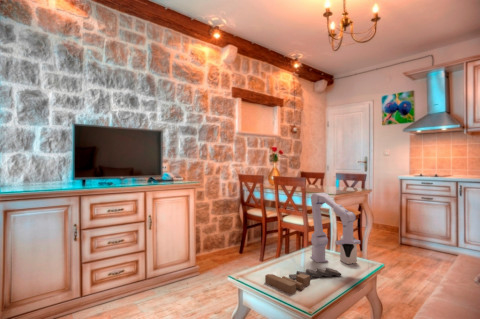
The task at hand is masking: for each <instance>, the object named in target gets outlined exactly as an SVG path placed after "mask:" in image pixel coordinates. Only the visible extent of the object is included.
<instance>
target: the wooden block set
mask: <svg viewBox="0 0 480 319" xmlns="http://www.w3.org/2000/svg"><path fill="white" fill-rule="evenodd" d="M264 277H265V278H264V279H265V280H264V281H265V282H266V284H268V285H270V286H272V287H274V288H276V289H277V290H279V291H282V292H284V293H287V294H289V295H293V294H295V293H297V290H300V291H302V290H304V288H305V287H308V286H309V285H311V279H310V276H309V275H304V274H299V275H297V276H296V280H292V279H291V278H290V277H287V276H284V275H283V276H278V275H276V274H273V273H268V274H266V275H265V276H264ZM265 282H264V283H265Z"/></svg>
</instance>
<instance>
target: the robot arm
mask: <svg viewBox="0 0 480 319" xmlns="http://www.w3.org/2000/svg"><path fill="white" fill-rule="evenodd" d="M310 200H311V201H310V202H311V211H312V220H313V228H314V229H313V230H314V232H313V233H311V241H310V242H311V245H312V246H311V256H310V259H312V260H313V261H314V262H316V263H326V262H328V261H329V260H327V259H326V247H327V245H328V244H329V238H328V237H327V233H326V232H325V231H324V229H323V228H324V227H323V220H322V219H323V218H322V211H321V207H322V206H323V205H324V204H326V205H328V206H329V207H330V208H332V210H333V213H335V214H336V216H338V217H340V220H341V225H342V235H343V240H339V239H338V240H335V242H334V243H335V244H334V245H336V246H340V245H342V246H343V248H344V251H345V255H346V257H350V254H351V252H352V250H353V248H354V245H353V244H357V245H361V240H359V239H357V240H353V237H354V222H355V221H356V219H357V217H356V214H355V213H354V212H353V211H349V210H348V209H346V208H345V207H344V206H343V204H340V203H339V204H337V203H336V202H335V201H334V200H333V199H332V198H331V197H330V194H328V193H327V192H325V191H324V192H313V193H312V194H311V196H310Z"/></svg>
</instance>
